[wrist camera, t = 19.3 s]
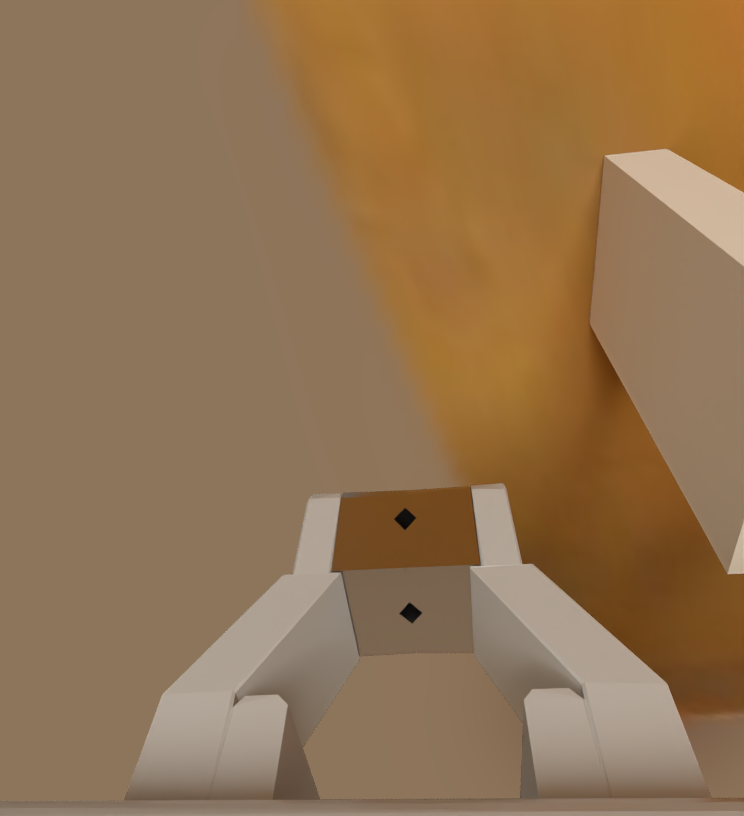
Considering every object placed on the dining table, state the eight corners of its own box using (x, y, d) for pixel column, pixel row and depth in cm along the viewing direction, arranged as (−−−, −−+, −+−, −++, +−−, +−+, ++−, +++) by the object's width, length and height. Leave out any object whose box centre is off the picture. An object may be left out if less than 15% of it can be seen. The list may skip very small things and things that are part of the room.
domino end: (666, 148, 16) (941, 305, 8) (642, 319, 19) (825, 571, 10) (604, 155, 16) (807, 316, 8) (589, 323, 19) (726, 574, 11)
